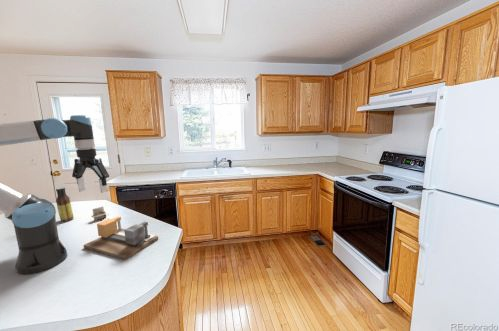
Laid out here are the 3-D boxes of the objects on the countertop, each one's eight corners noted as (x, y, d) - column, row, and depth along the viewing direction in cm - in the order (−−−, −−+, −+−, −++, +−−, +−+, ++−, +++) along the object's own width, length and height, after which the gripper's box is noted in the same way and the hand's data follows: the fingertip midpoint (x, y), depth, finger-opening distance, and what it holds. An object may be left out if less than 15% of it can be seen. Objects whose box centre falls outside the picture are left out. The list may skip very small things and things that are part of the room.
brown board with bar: (125, 259, 90) (122, 238, 88) (84, 248, 99) (80, 228, 98) (158, 239, 106) (156, 221, 105) (120, 230, 116) (118, 214, 114)
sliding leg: (105, 238, 102) (104, 225, 101) (98, 236, 104) (96, 223, 103) (124, 229, 111) (122, 217, 110) (117, 228, 113) (115, 216, 112)
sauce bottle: (72, 217, 136) (67, 185, 133) (75, 219, 132) (69, 187, 129) (58, 220, 131) (52, 188, 128) (61, 223, 127) (55, 190, 124)
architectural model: (107, 219, 133) (105, 207, 132) (93, 223, 128) (92, 211, 126) (105, 217, 135) (103, 206, 134) (91, 221, 130) (90, 209, 128)
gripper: (113, 147, 105) (119, 190, 109) (73, 148, 112) (81, 188, 116) (99, 149, 98) (106, 194, 102) (57, 149, 105) (66, 192, 108)
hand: (93, 191), depth 109 cm, fingers open, 13 cm apart
